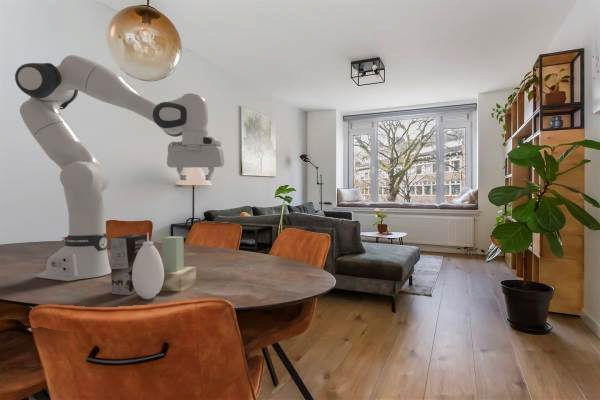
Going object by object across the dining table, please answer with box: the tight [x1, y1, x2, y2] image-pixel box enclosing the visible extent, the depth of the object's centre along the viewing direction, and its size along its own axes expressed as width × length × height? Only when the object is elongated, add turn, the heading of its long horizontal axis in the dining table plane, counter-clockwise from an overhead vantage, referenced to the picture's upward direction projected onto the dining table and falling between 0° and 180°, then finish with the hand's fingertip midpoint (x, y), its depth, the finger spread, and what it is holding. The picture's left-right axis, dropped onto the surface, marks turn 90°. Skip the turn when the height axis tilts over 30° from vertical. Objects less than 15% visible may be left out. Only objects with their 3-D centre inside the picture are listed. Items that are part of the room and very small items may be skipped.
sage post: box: [161, 235, 185, 272], centre depth 107 cm, size 4×4×10 cm
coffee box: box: [110, 233, 147, 296], centre depth 102 cm, size 9×6×16 cm
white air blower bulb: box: [132, 232, 164, 300], centre depth 94 cm, size 8×8×18 cm
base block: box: [160, 266, 197, 292], centre depth 107 cm, size 10×10×5 cm
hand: (195, 180), depth 124 cm, fingers open, 8 cm apart
